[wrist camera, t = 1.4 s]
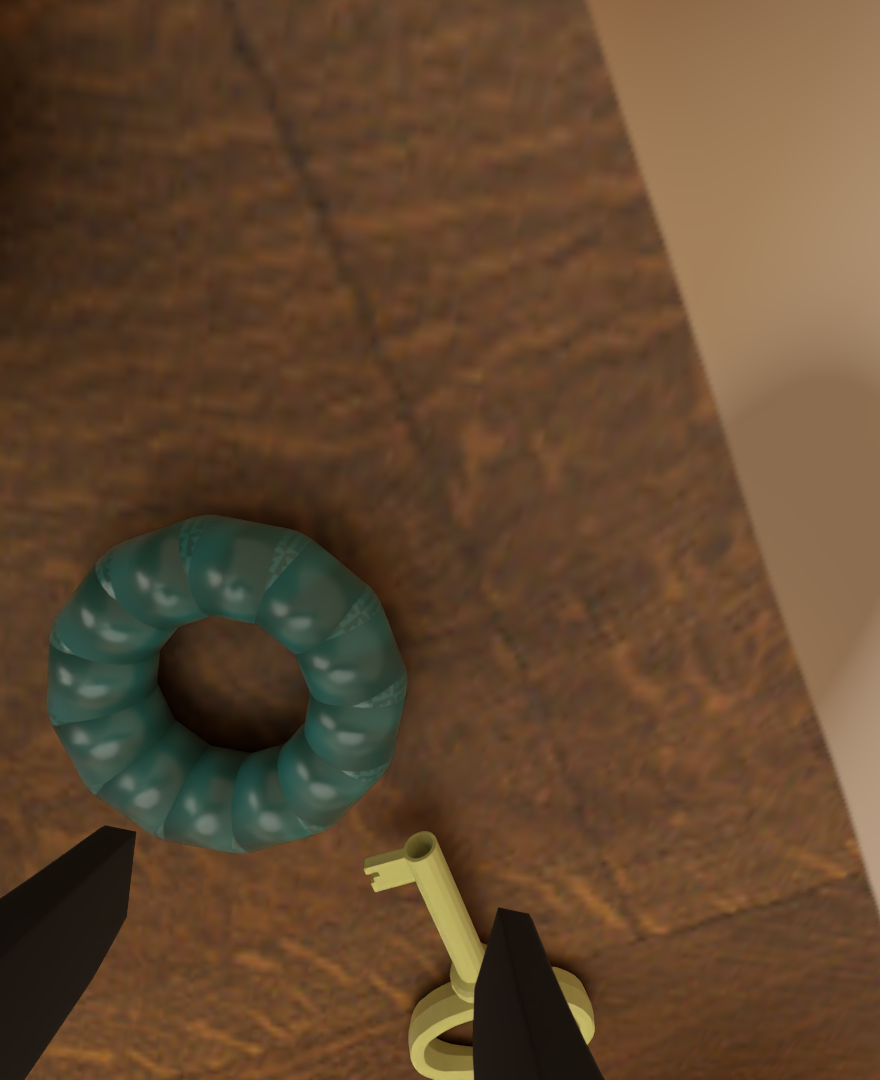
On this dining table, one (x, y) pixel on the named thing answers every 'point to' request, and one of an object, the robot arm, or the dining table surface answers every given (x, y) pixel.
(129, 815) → the ring
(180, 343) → the dining table surface
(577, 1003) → the key
